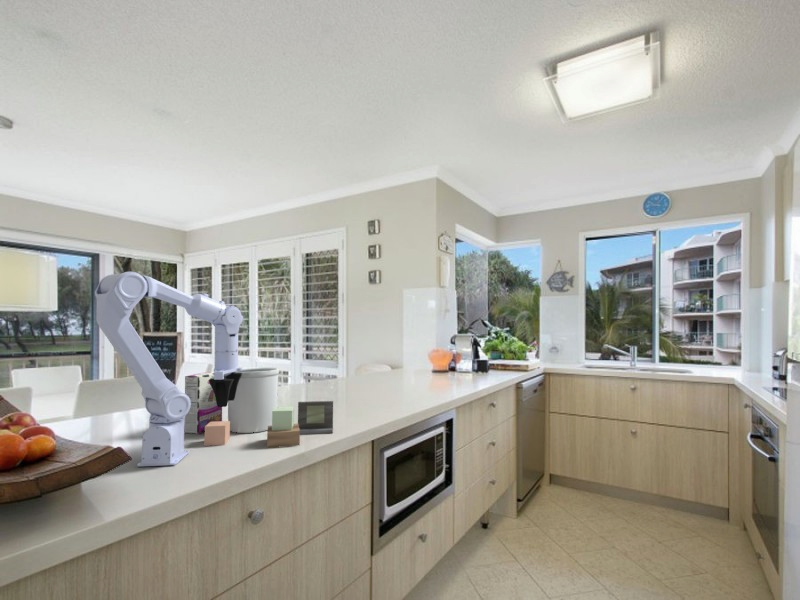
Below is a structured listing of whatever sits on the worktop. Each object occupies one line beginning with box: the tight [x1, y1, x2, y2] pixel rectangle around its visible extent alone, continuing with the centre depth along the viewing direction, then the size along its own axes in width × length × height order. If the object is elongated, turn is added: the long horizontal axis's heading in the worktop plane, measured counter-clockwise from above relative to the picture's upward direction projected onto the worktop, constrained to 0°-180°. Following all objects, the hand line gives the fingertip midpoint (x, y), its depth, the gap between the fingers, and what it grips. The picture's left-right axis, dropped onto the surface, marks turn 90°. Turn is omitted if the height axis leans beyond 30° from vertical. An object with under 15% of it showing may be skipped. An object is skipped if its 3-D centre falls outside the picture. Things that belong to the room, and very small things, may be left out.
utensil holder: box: [227, 366, 280, 434], centre depth 125 cm, size 15×15×18 cm
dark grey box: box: [297, 400, 334, 435], centre depth 121 cm, size 6×10×8 cm, turn 99°
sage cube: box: [272, 406, 295, 431], centre depth 110 cm, size 5×5×5 cm
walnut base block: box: [266, 423, 301, 448], centre depth 109 cm, size 8×8×4 cm
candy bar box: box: [184, 370, 223, 435], centre depth 123 cm, size 11×5×16 cm, turn 168°
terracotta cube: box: [203, 420, 231, 447], centre depth 109 cm, size 5×5×5 cm
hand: (226, 403), depth 108 cm, fingers open, 7 cm apart
